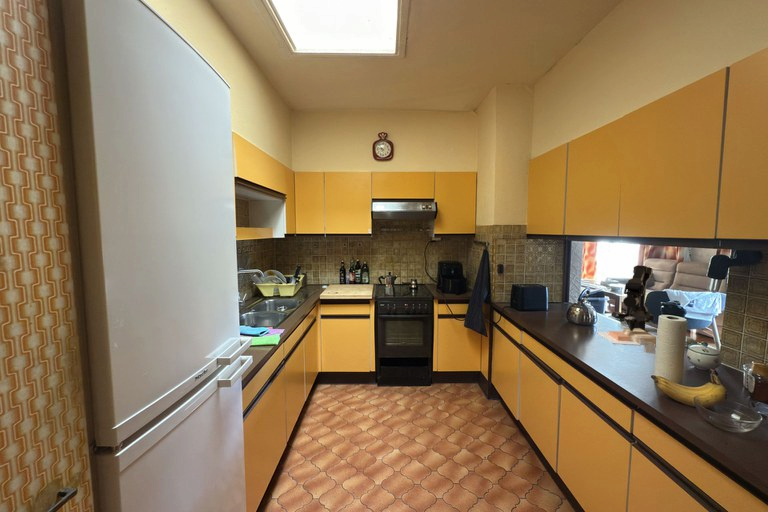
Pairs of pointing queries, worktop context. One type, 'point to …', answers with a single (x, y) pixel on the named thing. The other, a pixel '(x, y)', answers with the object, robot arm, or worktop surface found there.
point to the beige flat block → (647, 346)
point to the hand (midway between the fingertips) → (631, 330)
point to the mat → (614, 341)
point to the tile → (619, 336)
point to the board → (639, 332)
